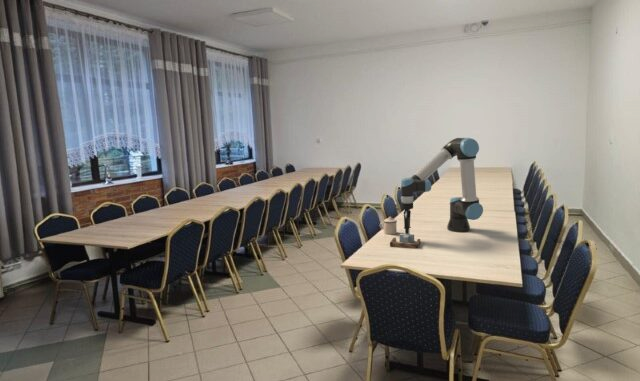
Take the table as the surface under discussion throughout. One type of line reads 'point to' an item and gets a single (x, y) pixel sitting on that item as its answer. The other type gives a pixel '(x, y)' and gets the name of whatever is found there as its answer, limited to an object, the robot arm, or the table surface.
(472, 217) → the robot arm
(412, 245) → the walnut bay
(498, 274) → the table surface
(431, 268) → the table surface
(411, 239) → the slate t block
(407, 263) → the table surface
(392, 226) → the teacup with lid
